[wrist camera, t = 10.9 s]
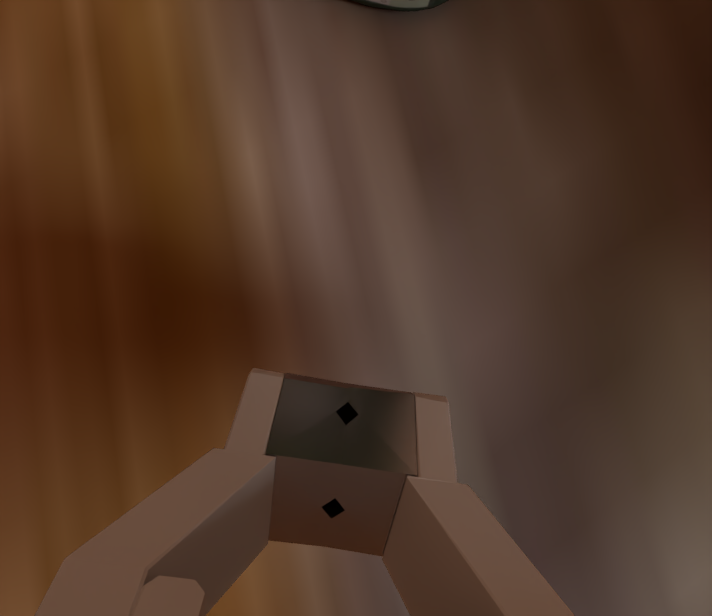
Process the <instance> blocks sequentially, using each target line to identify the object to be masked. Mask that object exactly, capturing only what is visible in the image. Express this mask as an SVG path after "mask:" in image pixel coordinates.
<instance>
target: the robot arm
mask: <svg viewBox="0 0 712 616" xmlns="http://www.w3.org/2000/svg"><path fill="white" fill-rule="evenodd" d="M268 540H270V541H279V542H288V543H297V544H306V545H315V546H324V547H330V548H336V549H342V550H348V551H354V552H360V553H366V554H372V555H378V556H383V558H382V560H383V562H384V564H385V566H386V568H387V570H388V572H389V574H390V576H391V578H392V580H393V582H394V584H395V586H396V588H397V590H398V592H399V594H400V596H401V598H402V600H403V602H404V604H405V606H406V608H407V610H408V612H409V614H410V616H575V615H574V614H573V613H572V612H571V611H570V609H569V608H568V607H567V606H566V604H565V603H564V602H563V601H562V599H561V598H560V597H559V596H558V595H557V593H556V592H555V591H554V590H553V588H552V587H551V586H550V585H549V584H548V582H547V581H546V580H545V579H544V577H543V576H542V575H541V574H540V572H539V571H538V570H537V569H536V568H535V566H534V565H533V564H532V563H531V561H530V560H529V559H528V558H527V557H526V555H525V554H524V553H523V552H522V550H521V549H520V548H519V547H518V545H517V544H516V543H515V542H514V541H513V539H512V538H511V537H510V536H509V534H508V533H507V532H506V531H505V530H504V528H503V527H502V526H501V525H500V523H499V522H498V521H497V520H496V518H495V517H494V516H493V515H492V514H491V512H490V511H489V510H488V509H487V507H486V506H485V505H484V504H483V502H482V501H481V500H480V499H479V498H478V496H477V495H476V494H475V493H474V491H473V490H472V489H471V488H470V487H469V485H466V484H461V483H458V480H457V471H456V462H455V454H454V445H453V436H452V427H451V418H450V410H449V401H448V400H447V398H446V397H445V396H438V395H430V394H423V393H415V392H414V393H411V392H405V391H398V390H391V389H384V388H376V387H369V386H362V385H355V384H348V383H342V382H336V381H330V380H325V379H319V378H313V377H307V376H301V375H296V374H290V373H286V374H285V373H280V372H274V371H269V370H263V369H257V368H253V369H252V370H251V372H250V373H249V375H248V378H247V381H246V384H245V387H244V390H243V393H242V396H241V399H240V402H239V405H238V408H237V411H236V414H235V417H234V420H233V423H232V426H231V429H230V432H229V435H228V438H227V441H226V444H225V447H224V449H218V448H213V449H211V450H210V451H209V452H207V453H206V454H205V455H203V456H202V457H201V458H199V459H198V460H197V461H195V462H194V463H193V464H191V465H190V466H189V467H187V468H186V469H184V470H183V471H182V472H180V473H179V474H178V475H176V476H175V477H174V478H172V479H171V480H170V481H168V482H167V483H166V484H164V485H163V486H162V487H160V488H159V489H158V490H156V491H155V492H153V493H152V494H151V495H149V496H148V497H147V498H145V499H144V500H143V501H141V502H140V503H139V504H137V505H136V506H135V507H133V508H132V509H131V510H129V511H128V512H127V513H125V514H124V515H122V516H121V517H120V518H118V519H117V520H116V521H114V522H113V523H112V524H110V525H109V526H108V527H106V528H105V529H104V530H102V531H101V532H100V533H98V534H97V535H96V536H94V537H93V538H92V539H90V540H89V541H87V542H86V543H85V544H83V545H82V546H81V547H79V548H78V549H77V550H75V551H74V552H73V553H71V554H70V555H69V556H67V557H66V558H65V559H64V561H63V563H62V565H61V567H60V568H59V570H58V572H57V574H56V576H55V578H54V580H53V582H52V584H51V585H50V587H49V589H48V591H47V593H46V595H45V597H44V599H43V601H42V602H41V604H40V606H39V608H38V610H37V612H36V614H35V616H205V615H206V614H207V613H208V612H209V610H210V609H211V608H212V607H213V606H214V605H215V604H216V602H217V601H218V600H219V599H220V598H221V597H222V596H223V594H224V593H225V592H226V591H227V590H228V589H229V588H230V586H231V585H232V584H233V583H234V582H235V581H236V580H237V578H238V577H239V576H240V575H241V574H242V573H243V572H244V570H245V569H246V568H247V567H248V566H249V565H250V564H251V563H252V561H253V560H254V559H255V558H256V557H257V556H258V555H259V553H260V552H261V551H262V550H263V549H264V548H265V547H266V545H267V544H268Z"/></svg>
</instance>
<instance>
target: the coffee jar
mask: <svg viewBox="0 0 712 616" xmlns="http://www.w3.org/2000/svg"><path fill="white" fill-rule="evenodd" d="M352 1H355V2H358V3H361V4H364V5H367V6H371V7H377V8H384V9H391V10H397V11H419V10H423V9H430V8H433V7H435V6H438V5H440V4H442V3H444V2H446V1H448V0H352Z"/></svg>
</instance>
